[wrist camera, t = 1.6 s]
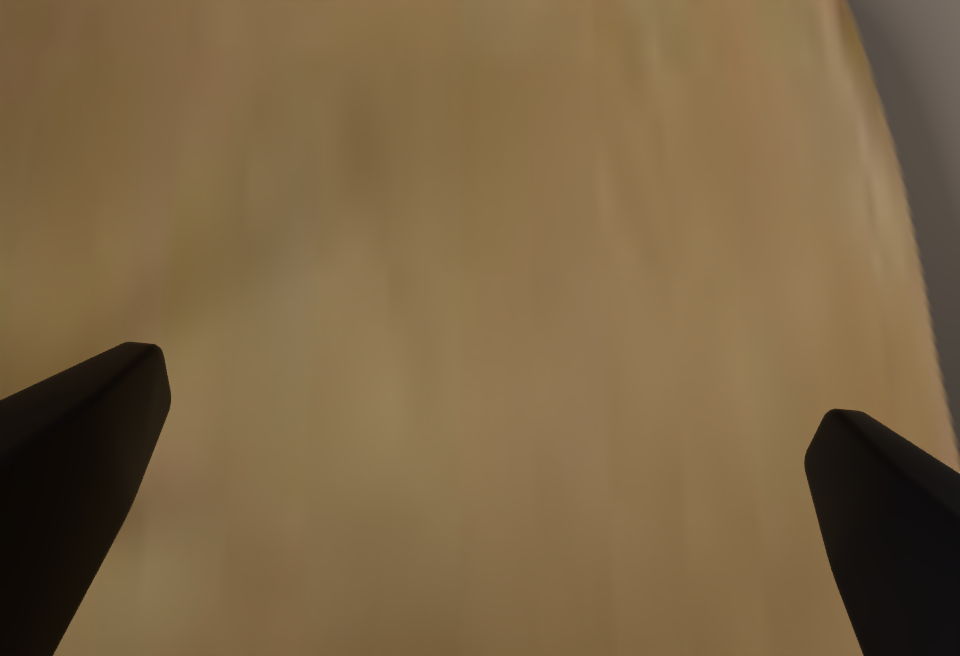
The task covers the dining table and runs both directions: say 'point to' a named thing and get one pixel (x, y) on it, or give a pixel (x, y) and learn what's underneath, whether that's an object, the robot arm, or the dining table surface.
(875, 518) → the robot arm
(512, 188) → the dining table surface
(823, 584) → the dining table surface
